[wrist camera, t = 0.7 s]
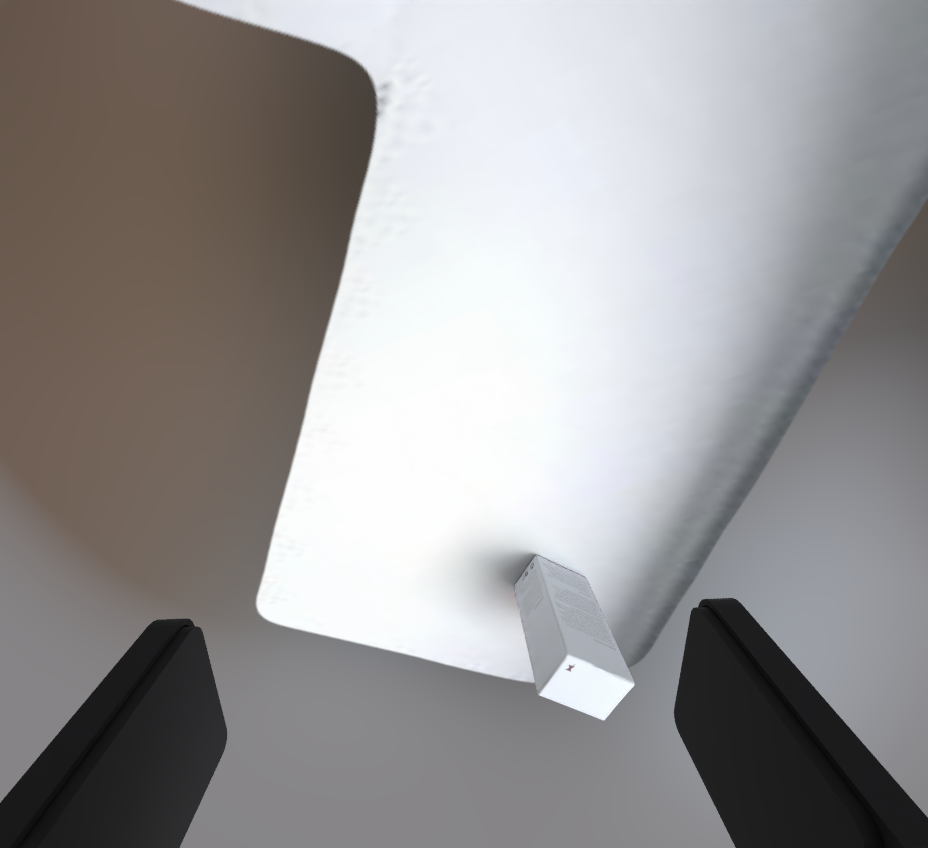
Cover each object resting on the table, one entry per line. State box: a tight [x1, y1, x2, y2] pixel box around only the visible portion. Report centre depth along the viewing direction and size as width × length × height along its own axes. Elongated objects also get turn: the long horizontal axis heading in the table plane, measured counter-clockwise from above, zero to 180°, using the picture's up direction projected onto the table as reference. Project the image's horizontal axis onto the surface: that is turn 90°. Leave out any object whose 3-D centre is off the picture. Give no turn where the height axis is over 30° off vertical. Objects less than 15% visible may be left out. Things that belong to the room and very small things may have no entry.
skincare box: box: [514, 555, 635, 720], centre depth 39 cm, size 6×4×12 cm
